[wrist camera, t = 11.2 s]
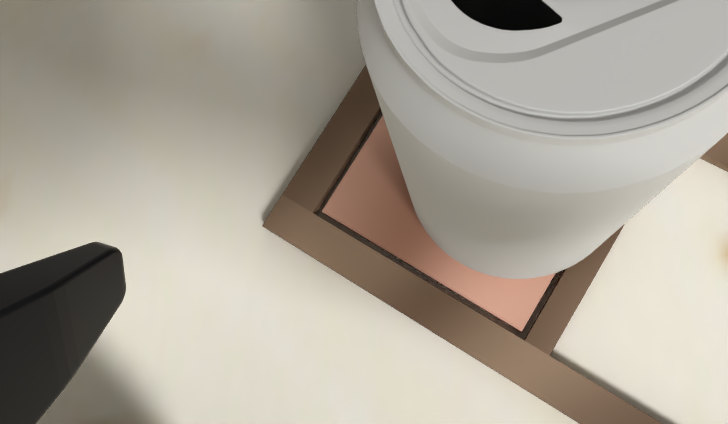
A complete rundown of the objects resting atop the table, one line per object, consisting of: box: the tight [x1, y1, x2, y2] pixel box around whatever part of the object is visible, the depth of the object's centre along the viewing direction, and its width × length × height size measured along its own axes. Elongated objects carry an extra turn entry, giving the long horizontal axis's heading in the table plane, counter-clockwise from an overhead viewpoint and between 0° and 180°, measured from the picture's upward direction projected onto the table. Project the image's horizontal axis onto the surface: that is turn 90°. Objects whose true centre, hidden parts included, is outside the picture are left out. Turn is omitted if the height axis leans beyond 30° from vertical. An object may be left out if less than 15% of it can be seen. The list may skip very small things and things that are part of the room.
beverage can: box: [357, 0, 728, 279], centre depth 14 cm, size 6×6×12 cm
